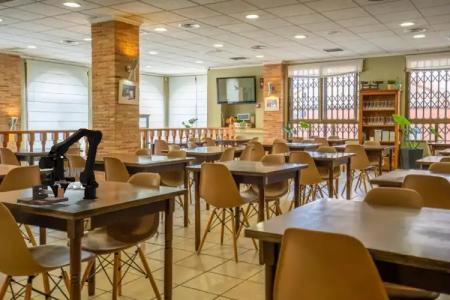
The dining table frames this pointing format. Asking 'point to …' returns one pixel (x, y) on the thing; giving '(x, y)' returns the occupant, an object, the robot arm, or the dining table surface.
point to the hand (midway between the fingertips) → (59, 196)
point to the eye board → (42, 201)
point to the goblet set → (74, 172)
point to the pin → (59, 195)
